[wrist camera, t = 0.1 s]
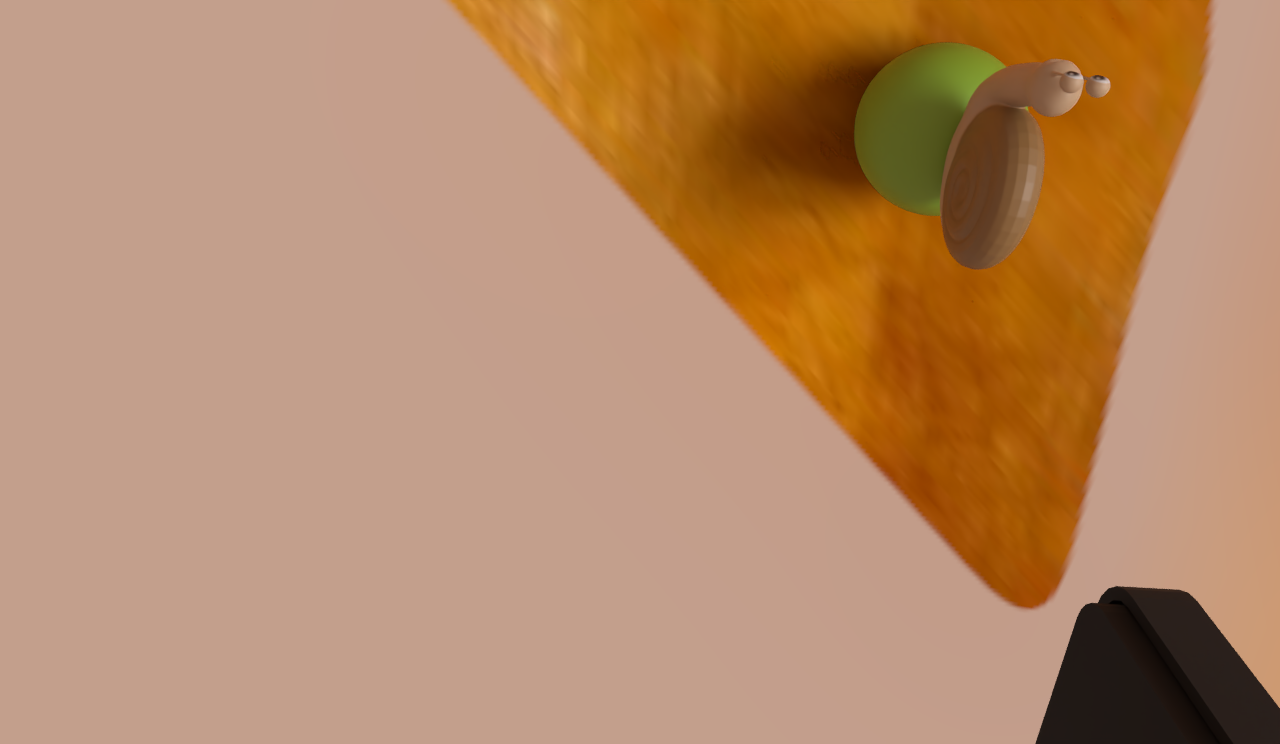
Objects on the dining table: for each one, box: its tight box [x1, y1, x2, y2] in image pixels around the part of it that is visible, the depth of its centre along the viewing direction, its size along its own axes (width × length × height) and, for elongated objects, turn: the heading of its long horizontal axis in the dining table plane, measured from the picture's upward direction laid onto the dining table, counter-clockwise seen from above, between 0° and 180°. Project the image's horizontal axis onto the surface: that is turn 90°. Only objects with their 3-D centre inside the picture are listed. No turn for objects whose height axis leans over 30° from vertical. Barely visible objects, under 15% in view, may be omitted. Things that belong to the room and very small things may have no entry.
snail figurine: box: [854, 42, 1110, 269], centre depth 33 cm, size 5×6×12 cm
